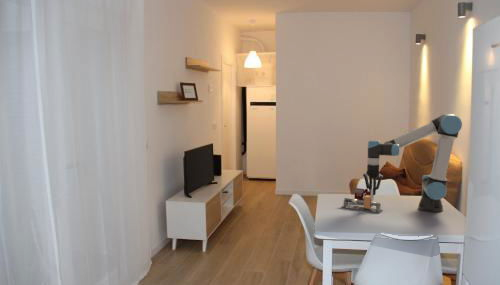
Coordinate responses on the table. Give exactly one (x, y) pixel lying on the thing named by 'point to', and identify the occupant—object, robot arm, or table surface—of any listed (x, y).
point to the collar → (367, 201)
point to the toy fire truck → (360, 193)
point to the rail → (352, 207)
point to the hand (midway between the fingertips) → (372, 199)
